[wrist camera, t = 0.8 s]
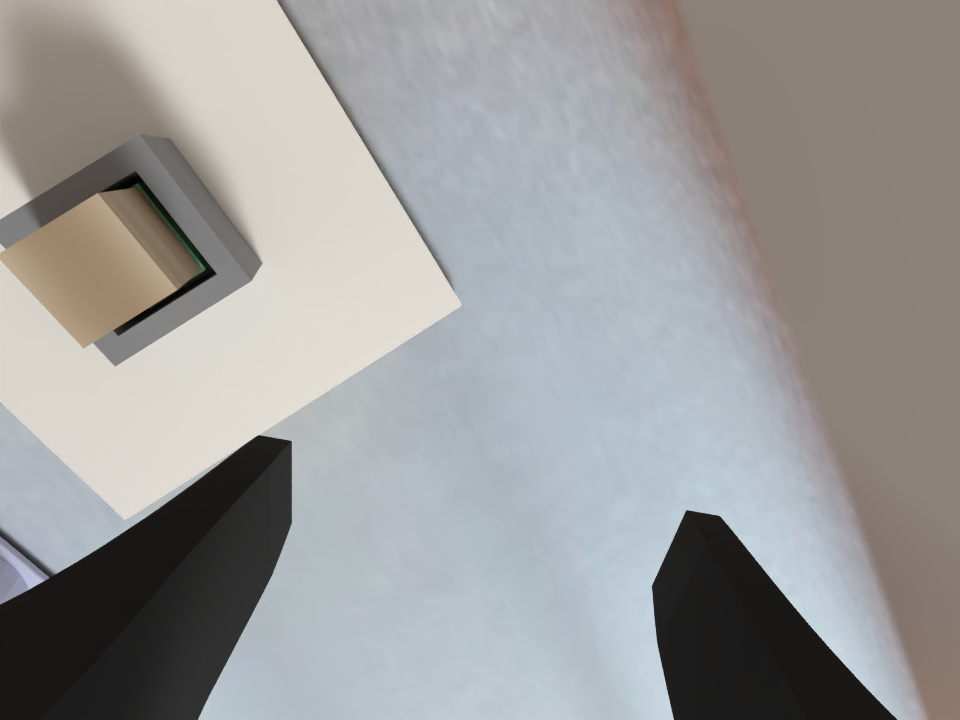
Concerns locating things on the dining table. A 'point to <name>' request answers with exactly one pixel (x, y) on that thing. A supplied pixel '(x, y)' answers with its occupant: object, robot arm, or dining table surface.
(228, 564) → the robot arm
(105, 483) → the stand base
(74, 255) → the post
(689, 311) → the dining table surface
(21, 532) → the dining table surface
